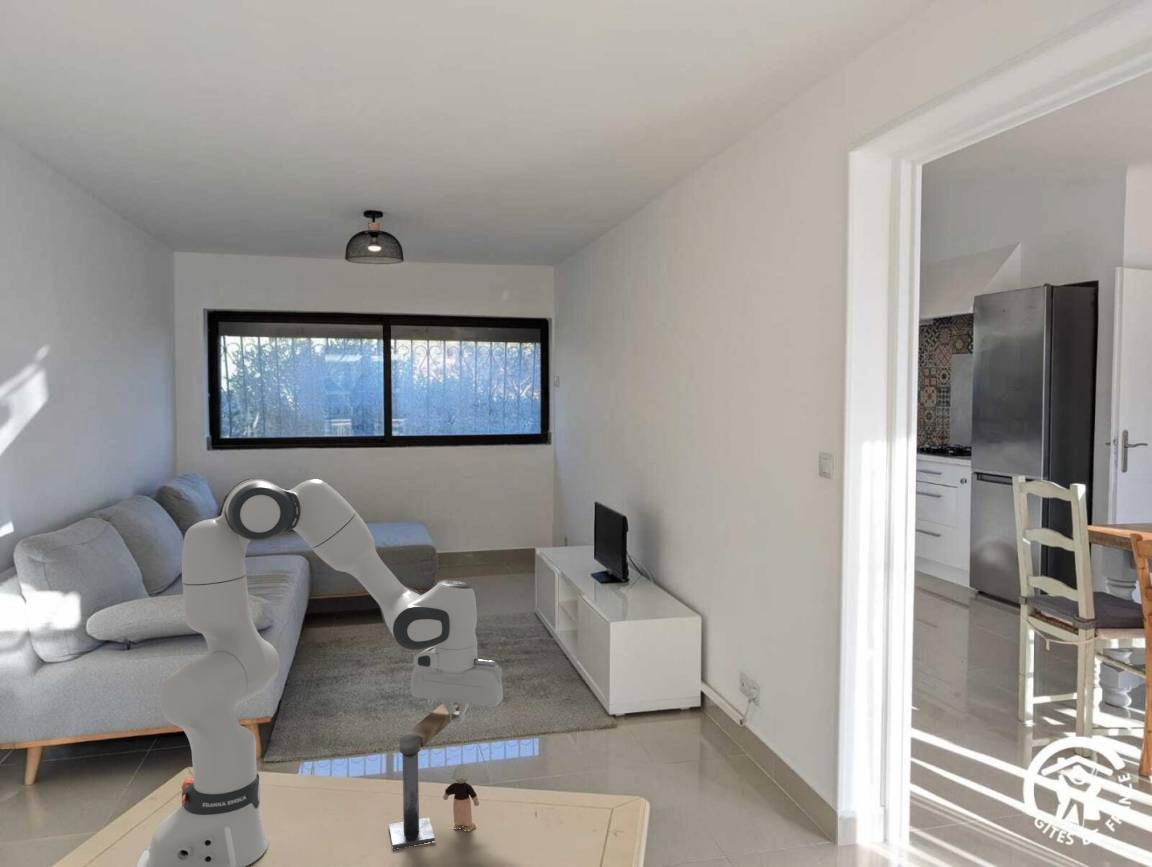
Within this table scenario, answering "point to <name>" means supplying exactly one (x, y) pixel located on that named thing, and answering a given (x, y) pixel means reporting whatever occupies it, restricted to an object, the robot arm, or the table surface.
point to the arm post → (411, 810)
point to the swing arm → (425, 730)
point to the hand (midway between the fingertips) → (457, 721)
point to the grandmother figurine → (462, 798)
